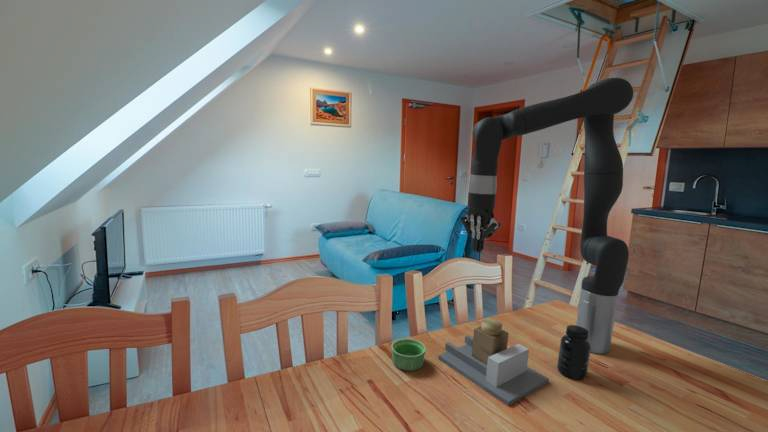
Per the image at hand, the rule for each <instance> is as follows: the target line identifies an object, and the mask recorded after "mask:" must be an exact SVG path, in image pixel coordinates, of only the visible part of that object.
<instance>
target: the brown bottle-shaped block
mask: <svg viewBox="0 0 768 432" xmlns="http://www.w3.org/2000/svg"><path fill="white" fill-rule="evenodd" d="M472 336H473V348H472V356H473V357H474V358H476V359H478V360H479V361H481V362H483V363H484V364H486V365H487V362H488V357H490V356H492V355H494V354H496V353H499V352H501V351H503V350H506V349H508V341H509V332H508V331H506V330H504V329H503V324H502V322H501V321H498V320H496V319H492V318H485V319H483V320H481V324H480V326H479V327H475V328H474V329H473V335H472Z"/></svg>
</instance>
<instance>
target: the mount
mask: <svg viewBox="0 0 768 432" xmlns="http://www.w3.org/2000/svg"><path fill="white" fill-rule="evenodd" d="M464 343H465V344H463V345H461V346H459V347H457V345H454V344H453V343H451V342H449V341H448V342H445V344H444V345H445V347H444V348H445V349H444V350H445V351H446V352H444V353H441V354H438V355H437V356H438V357H437V359H438V360H439V361H441V362H442V363H443V364H446V365H447V366H448V367H450V368H451V369H452V370H454V371H456V372H457V373H459V374H460V375H461V376H463V377H464V378H466V379H467V380H469V381H471V383H474V384H475V385H476V386H478V387H479V388H480V389H482V390H483V391H484V392H486V393H488V394H489V395H491V396H493V397H494V398H495V399H497V400H499V402H501V403H503V404H505V405H506V406H510V405H512V404H514V403H515V402H517V401H519V400H521V399H523V398H524V397H526V396H527V395H529V394H531V393H533V392H534V391H536V390H537V389H540V388H541V387H542V386H544V385H546V384H548V383H549V379H550V378H549V377H547V376H546V375H544V374H541V373H540V372H538V371H536V370H534V369H533V368H531V367H530V366H528V361H529V353H530V348H527V347H526V346H524V345H522V344H519V343H517V344H514V345H512V346H511V347H507V349H506V350H503V351H501V352H499V353H496V354H494V355H492V356H490V357H488V362H487V365H486V364H484V363H483V362H481V361H479V360H478V359H476V358H474V357H473V356H472V348H473V337H472V336H471V335H470V334H466V335H465V337H464Z"/></svg>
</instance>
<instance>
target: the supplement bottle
mask: <svg viewBox="0 0 768 432" xmlns="http://www.w3.org/2000/svg"><path fill="white" fill-rule="evenodd" d="M587 339H588V330H587V329H585V328H583V327H580V326H576V325H574V324H570V325H568V326H566V330H565V334H564V335H563V336H562V337H561V339H560V343H559V349H558V350H559V352H558V356H557V357H558V359H557V365H556V366H557V367H556V368H557V370H558V372H559V373H560V374H561V375H562V376H564V377H566V378H568V379H571V380H576V381H583V380H584V379H586V378H587V376H588V372H589V371H588V370H589V364H590V355H591V352H590V350H591V345H590V343H589V341H588V340H587Z"/></svg>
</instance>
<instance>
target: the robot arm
mask: <svg viewBox="0 0 768 432" xmlns="http://www.w3.org/2000/svg"><path fill="white" fill-rule="evenodd" d="M633 98H634V88H633V86H632V84H631V83H630V82H629V80H626V79H625V78H622V77H607V78H605V79H602V80H600V81H597V82H595V83H594V82H593V83H592V84H590V85H589V86H588V87H587V88H586V89H584V90H583V91H580V92H577V93H575V94H571V95H567V96H564V97H560V98H556V99H550V100H547V101H542V102H539V103H535V104H531V105H530V104H529V105H528V106H524V107H521V108H516V109H515V110H512V111H510V112H507V113H505V114H500V115H498V116H494V117H492V116H488V117H484V118H482V119H480V120H479V121H477V122H476V123H475V124H474V126H473V127H472V128H473V129H472V138H473V139H474V141H475V143H474V154H473V156H472V159H471V165H470V166H471V167H470V177H469V181H468V192H467V193H468V194H467V203H466V204H467V208H468V210H467V212H466V213H467V214H466V215H464V216H461V217H460V220H461V223H462V226H463V227H464V229H465V232H466V233H467V235H468V236H471V238H472V251H473V252H475V253H481V252H482V251H483V250H484V245H485V244H484V243H485V240H486V239H490V238H491V237H492V236H493V235H494V234H495V232H496V231H497V230H498V229H499V228H500V227H501V222H499V221H498V222H497V220H496V219H495V214H494V210H495V208H496V201H497V200H496V197H497V187H498V185H497V184H498V181H497V175H498V166H499V165H498V161H499V155H500V151H501V146H502V141H503V140H506V139H509V138H513V137H518V136H524V135H528V134H531V133H534V132H538V131H542V130H545V129H548V128H552V127H554V126H557V125H560V124H563V123H566V122H570V121H573V120H578V119H581V118H583V126H584V163H583V164H584V165H583V166H584V167H583V193H584V194H583V217H582V218H583V220H582V228H581V234H580V245H579V251H580V255H581V257H582V260H584V261H586V263H588V264H591V265H592V266H595V272H594V273H593V275H588V276H584V277H583V278H582V280H581V287H580V292H579V293H580V294H579V303H578V309H577V317H576V318H577V319H576V326H580V327H583V328H585V329H587V330H588V339H587V340H588V341H589V343H590V345H591V350H590V353H593V354H599V355H600V354H602V355H603V354H608V353H609V352H610V351H611V347H612V346H611V344H612V338H613V333H614V331H613V330H614V325H615V319H616V313H617V312H616V310H617V306H618V299H619V298H618V297H619V293H620V292H619V291H620V289H621V287H622V286H623V283H624V281H625V277H626V271H627V267H628V263H629V256H630V251H629V247H628V245H627V243H626V242H625V241H624V240H622V239H620V238H616V237H613V236H610V235H608V218H609V214H610V212H611V210H612V209H613V207H614V205H615V204H616V203H617V201H618V199H619V197H620V195H621V193H622V191H623V187H624V186H623V185H624V164H623V163H624V162H623V159H622V156H621V153H620V149H619V147H618V145H617V142H616V140H615V138H616V137H615V135H614V134H615V133H614V121H615V115H616V114H619V113H621V112H622V111H624V110H625V109H627V107H628V106H629V105H630V104H631V102H632V100H633Z"/></svg>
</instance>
